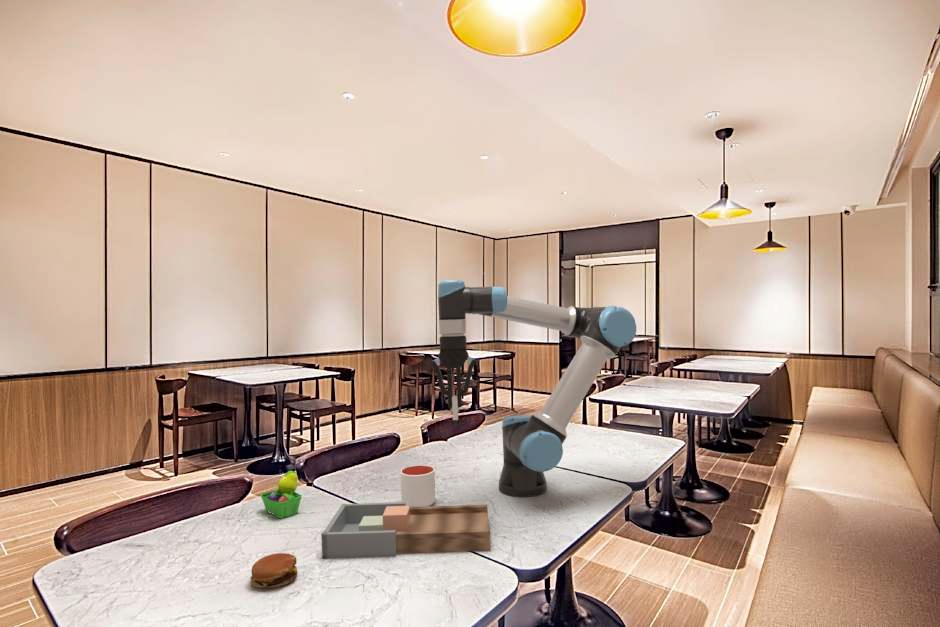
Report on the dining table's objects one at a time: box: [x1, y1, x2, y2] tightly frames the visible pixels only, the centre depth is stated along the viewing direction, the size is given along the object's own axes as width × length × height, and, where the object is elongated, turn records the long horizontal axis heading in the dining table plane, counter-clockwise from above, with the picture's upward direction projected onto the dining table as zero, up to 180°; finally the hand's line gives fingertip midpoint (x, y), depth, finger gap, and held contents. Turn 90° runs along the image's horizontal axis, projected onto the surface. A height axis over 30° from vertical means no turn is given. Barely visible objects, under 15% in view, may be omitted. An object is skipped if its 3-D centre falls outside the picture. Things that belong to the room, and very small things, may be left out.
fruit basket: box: [260, 470, 303, 519], centre depth 148 cm, size 11×9×11 cm
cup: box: [400, 464, 436, 507], centre depth 151 cm, size 10×10×10 cm
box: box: [321, 501, 406, 559], centre depth 128 cm, size 17×19×6 cm
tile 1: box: [359, 516, 383, 531], centre depth 128 cm, size 6×6×4 cm
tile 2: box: [383, 506, 410, 531], centre depth 128 cm, size 6×6×4 cm
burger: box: [250, 552, 298, 589], centre depth 109 cm, size 10×9×5 cm
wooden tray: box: [396, 504, 491, 555], centre depth 128 cm, size 22×17×4 cm
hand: (455, 419), depth 143 cm, fingers closed
